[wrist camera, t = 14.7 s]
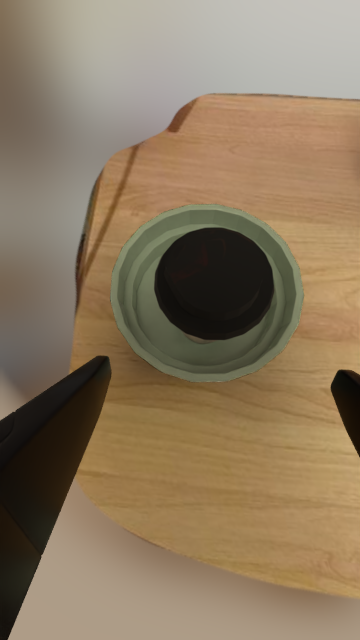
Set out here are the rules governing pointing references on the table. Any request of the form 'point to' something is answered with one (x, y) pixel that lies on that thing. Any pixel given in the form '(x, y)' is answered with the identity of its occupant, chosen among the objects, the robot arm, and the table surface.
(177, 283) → the coffee cup
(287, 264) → the sage green pet bowl
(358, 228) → the table surface
